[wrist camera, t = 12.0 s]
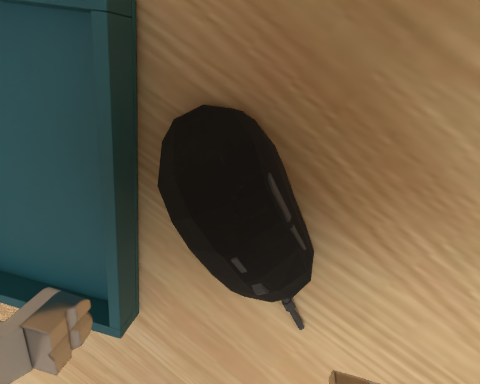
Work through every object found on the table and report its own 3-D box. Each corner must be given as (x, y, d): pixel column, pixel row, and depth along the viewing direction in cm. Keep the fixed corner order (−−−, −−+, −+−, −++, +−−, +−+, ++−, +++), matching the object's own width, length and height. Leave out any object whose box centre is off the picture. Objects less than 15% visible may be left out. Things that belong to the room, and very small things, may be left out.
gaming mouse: (257, 333, 21) (245, 388, 18) (148, 133, 17) (104, 151, 14) (350, 315, 19) (358, 375, 15) (248, 82, 15) (227, 88, 12)
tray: (-120, -30, 17) (-182, -43, 15) (136, 0, 15) (106, -11, 13) (-37, 263, 26) (-70, 281, 23) (139, 313, 23) (120, 339, 21)
